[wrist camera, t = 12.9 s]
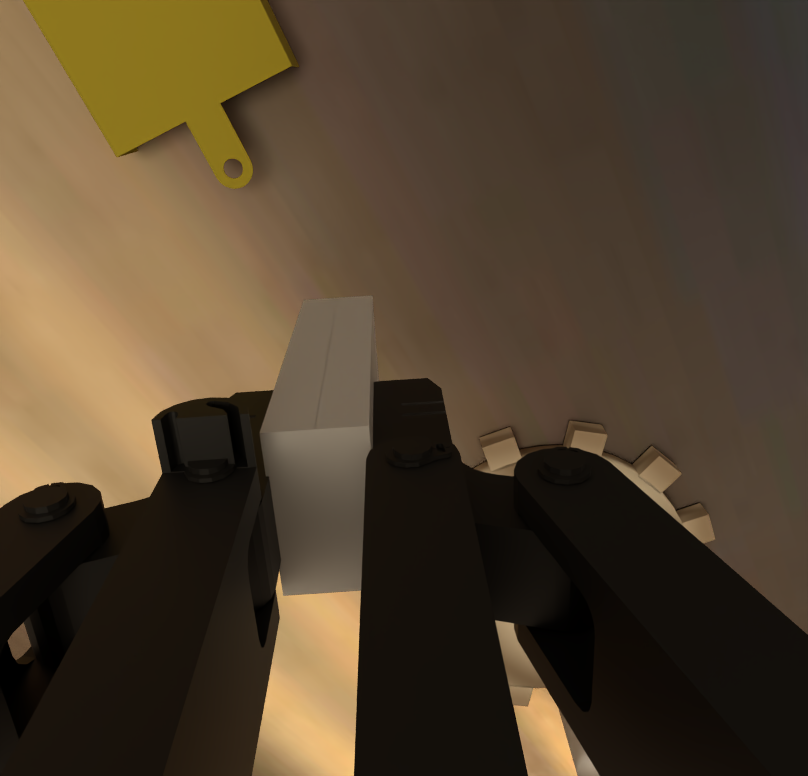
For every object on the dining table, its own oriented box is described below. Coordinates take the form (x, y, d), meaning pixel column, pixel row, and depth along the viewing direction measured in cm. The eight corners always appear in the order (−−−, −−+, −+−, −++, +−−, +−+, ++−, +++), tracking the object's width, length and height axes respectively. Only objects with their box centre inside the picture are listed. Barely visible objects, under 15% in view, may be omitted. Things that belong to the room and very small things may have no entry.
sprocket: (472, 371, 48) (498, 454, 38) (768, 493, 53) (867, 599, 42) (336, 636, 56) (326, 766, 46) (603, 723, 61) (651, 861, 50)
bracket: (96, 263, 38) (-101, -45, 32) (142, 234, 45) (-14, -22, 40) (372, 125, 36) (209, -229, 30) (373, 117, 43) (242, -170, 37)
